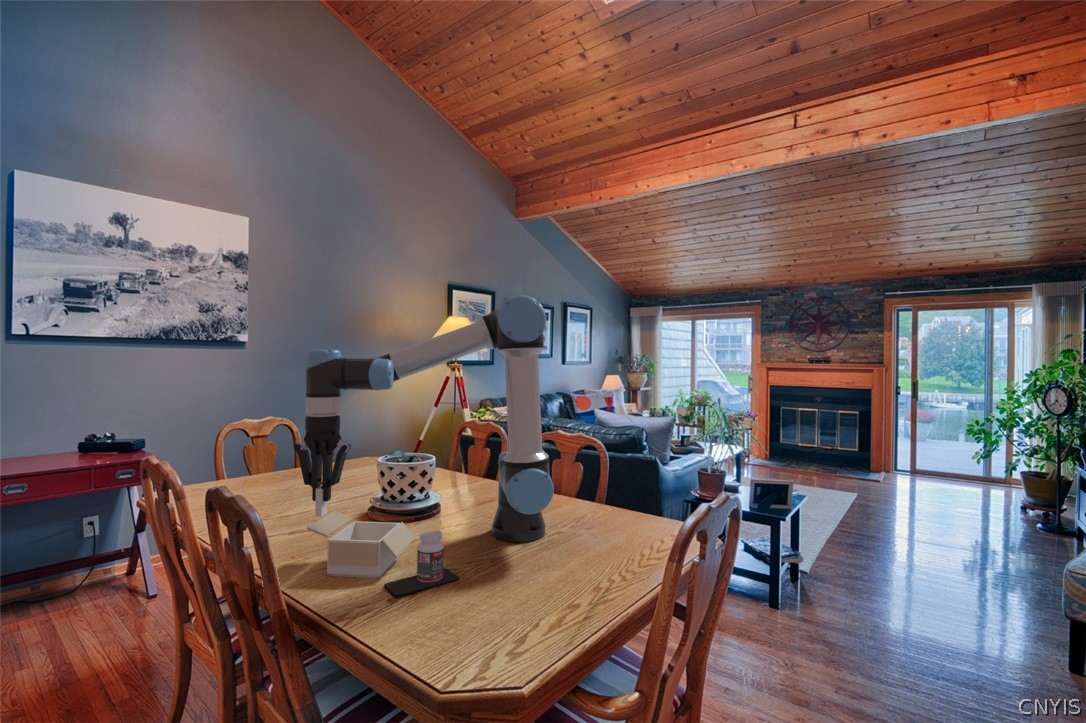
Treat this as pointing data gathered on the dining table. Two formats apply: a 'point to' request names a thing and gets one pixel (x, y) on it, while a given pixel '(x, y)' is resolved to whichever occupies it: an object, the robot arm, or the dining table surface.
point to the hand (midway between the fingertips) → (321, 514)
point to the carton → (360, 550)
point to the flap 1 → (329, 524)
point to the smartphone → (417, 584)
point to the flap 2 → (398, 539)
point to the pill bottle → (430, 556)
